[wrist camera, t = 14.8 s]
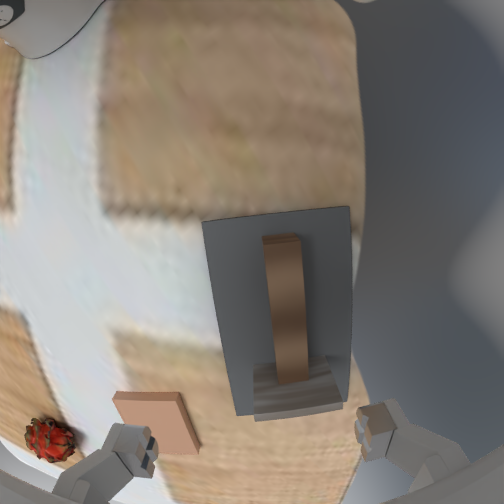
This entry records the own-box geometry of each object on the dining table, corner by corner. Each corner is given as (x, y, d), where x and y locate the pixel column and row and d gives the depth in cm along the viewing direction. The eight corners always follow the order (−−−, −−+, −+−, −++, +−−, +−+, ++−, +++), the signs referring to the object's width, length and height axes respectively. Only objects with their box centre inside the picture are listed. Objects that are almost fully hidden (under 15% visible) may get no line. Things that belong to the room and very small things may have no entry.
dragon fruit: (37, 415, 38) (83, 416, 39) (47, 456, 34) (95, 460, 36) (9, 417, 30) (57, 420, 31) (21, 463, 26) (71, 471, 28)
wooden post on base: (234, 239, 28) (228, 262, 20) (319, 229, 27) (345, 248, 20) (254, 371, 31) (254, 421, 23) (324, 362, 31) (342, 408, 23)
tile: (111, 399, 31) (141, 451, 34) (175, 401, 31) (198, 454, 33) (117, 389, 33) (144, 441, 36) (179, 389, 33) (200, 443, 36)
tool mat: (202, 221, 28) (201, 222, 27) (347, 206, 28) (349, 206, 27) (237, 412, 33) (236, 415, 33) (345, 398, 33) (347, 401, 33)
